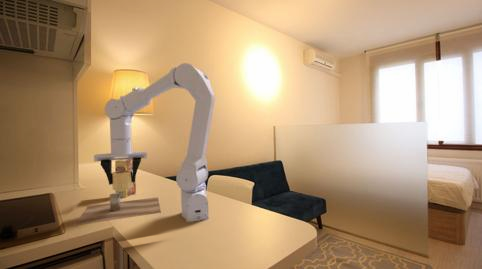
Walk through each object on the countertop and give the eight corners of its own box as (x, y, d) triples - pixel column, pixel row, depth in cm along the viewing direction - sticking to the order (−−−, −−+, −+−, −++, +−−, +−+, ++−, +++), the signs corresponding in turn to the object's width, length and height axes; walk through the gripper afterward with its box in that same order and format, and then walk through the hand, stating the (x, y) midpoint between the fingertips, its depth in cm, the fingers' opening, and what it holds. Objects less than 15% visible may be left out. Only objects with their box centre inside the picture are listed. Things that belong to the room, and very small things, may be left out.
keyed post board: (161, 217, 72) (160, 195, 72) (74, 230, 64) (73, 206, 63) (158, 201, 88) (157, 183, 87) (88, 210, 79) (87, 191, 79)
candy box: (127, 201, 88) (125, 160, 87) (115, 202, 88) (113, 160, 87) (137, 194, 97) (135, 157, 96) (126, 195, 97) (124, 157, 96)
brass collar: (133, 188, 73) (132, 172, 73) (111, 191, 71) (110, 174, 70) (133, 184, 78) (132, 169, 78) (113, 187, 75) (112, 171, 75)
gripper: (146, 137, 80) (147, 177, 81) (96, 139, 75) (98, 182, 75) (146, 138, 74) (147, 182, 74) (91, 140, 68) (93, 187, 69)
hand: (122, 182), depth 74 cm, fingers closed on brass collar, 6 cm apart
